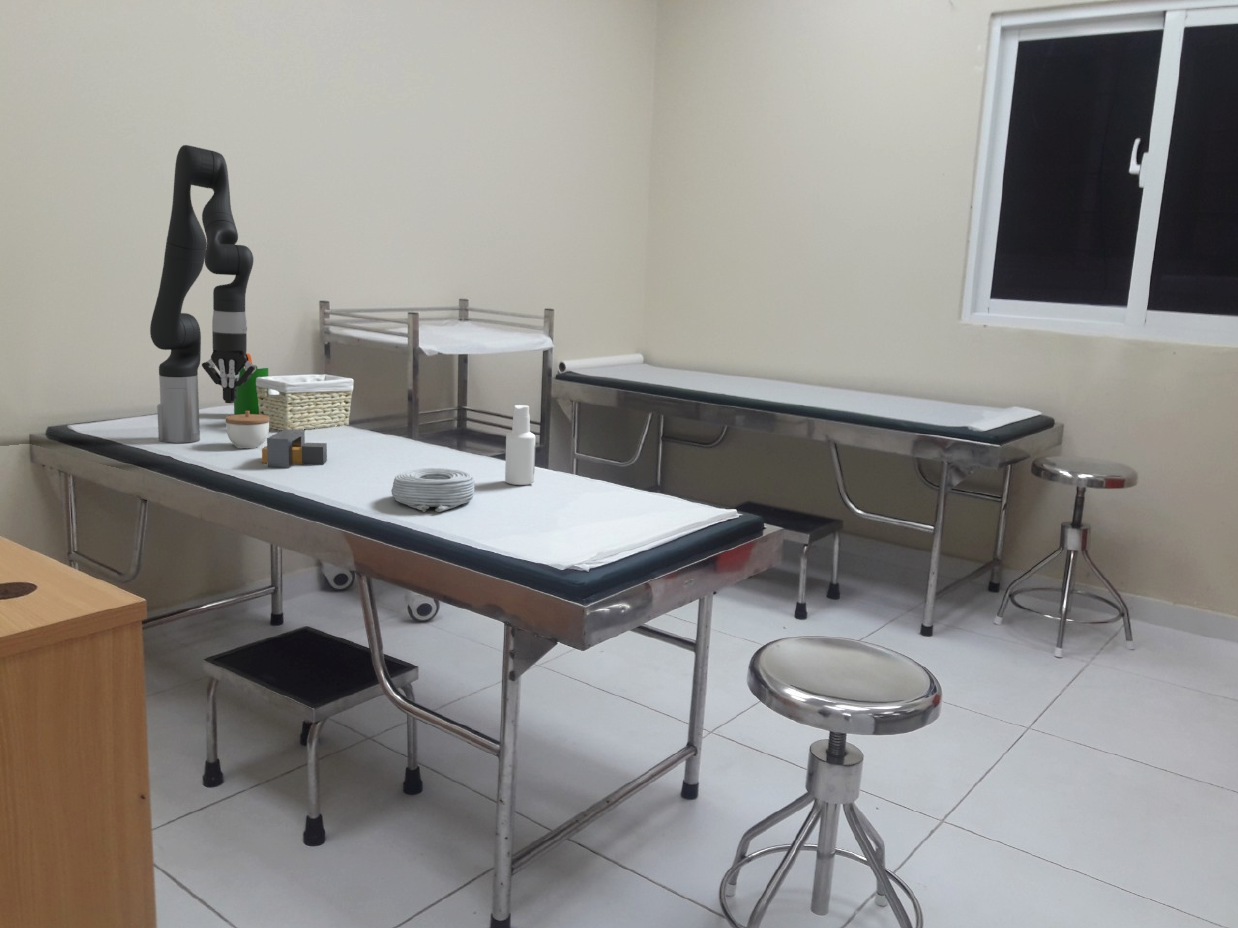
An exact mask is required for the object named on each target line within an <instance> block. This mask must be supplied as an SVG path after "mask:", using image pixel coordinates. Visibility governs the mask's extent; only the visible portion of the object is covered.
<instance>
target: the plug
mask: <svg viewBox="0 0 1238 928" xmlns="http://www.w3.org/2000/svg"><path fill="white" fill-rule="evenodd" d="M327 445H328V444H327V442H305V444H304V445H303V446H302V447H292V450H293V465H294V464H295V465H296V464H298V465H299V464H301V465H303V466H304V465H307V466H308V465H309V466H311V465H313V466H324V465H325V464H326V463H327V461H328V452H327V451H328V449H327V448H328V447H327ZM261 461H262V462H261V463H262V464H268V460H267V445H264V447H262V448H261Z"/></svg>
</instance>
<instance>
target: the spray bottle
mask: <svg viewBox="0 0 1238 928" xmlns="http://www.w3.org/2000/svg"><path fill="white" fill-rule="evenodd" d="M513 407H514V408H513V409H514V410H513V411H514V412H513V414H512V428H511V429H512V430H511V431H510V432H508V433H507V434H506V435H505V436H506V438H505V468H504V469H505V471H504V473H505V474H504V475H505V476H504V481H505V483H507V484H509V485H515V486H525V485H526V486H527V485H531V484H533V483H534V482H535V471H536V469H535V462H536V435H535V434H534V433H533V432H531V424H530V423H531V422H530V419H531V416H530V406H529V405H526V404H515V405H514V406H513Z"/></svg>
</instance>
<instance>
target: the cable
mask: <svg viewBox="0 0 1238 928" xmlns="http://www.w3.org/2000/svg"><path fill="white" fill-rule="evenodd" d="M392 482H393V483H392V486H391V487H392V488H391V491H390V492H391V496H392V497H394V499H395V500H396V501H397V502H398V503H401V504H404V505H406V506H408V507H410V508H412V509H417V510H419V511H422V512H423V513H425V512H426V511H427V510H428V509H430V508H435V512H438V513H439V512H444V511H447V510H450V509H454V508H457V507H459V506H460V505H463V504H467V503H469V502H471V501H472V499H473V498H474V496H475V479H474V477H473V476H472V475H471V474H469V473H468V472H465V471H462V470H459V469H452V468H444V467H443V468H441V467H425V468H423V467H422V468H415V469H410V470H406V471H402V472H400V473H398V474H396V476H394V478H393V481H392Z"/></svg>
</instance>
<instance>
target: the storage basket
mask: <svg viewBox="0 0 1238 928" xmlns="http://www.w3.org/2000/svg"><path fill="white" fill-rule="evenodd" d="M354 382H355V380H354V379H353V378H351V377H345V376H344V377H343V376H338V375H331V374H326V373H324V374H316V373H315V374H314V373H313V374H294V375H293V374H291V375H273V376H272V375H270V376H269V375H268V377H257V378H256V386H257V388H256V389H257V393H258V394H257V396H258V406H259V415H265V416H268V417H269V418H270V421H269V429H271V428H273V430H275V429H278V430H277V431H279V430H284V429H288V430H303V429H310V430H315V429H314V428H318V429H325V428H326V427H327V428H334V427H335V425H337V426H336V427H343V426H349V425H350V414H351V406H352V404H351V403H352V398H353V396H352V395H353V392H354V391H353V390H354ZM323 427H325V428H323ZM327 428H326V429H327Z"/></svg>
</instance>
